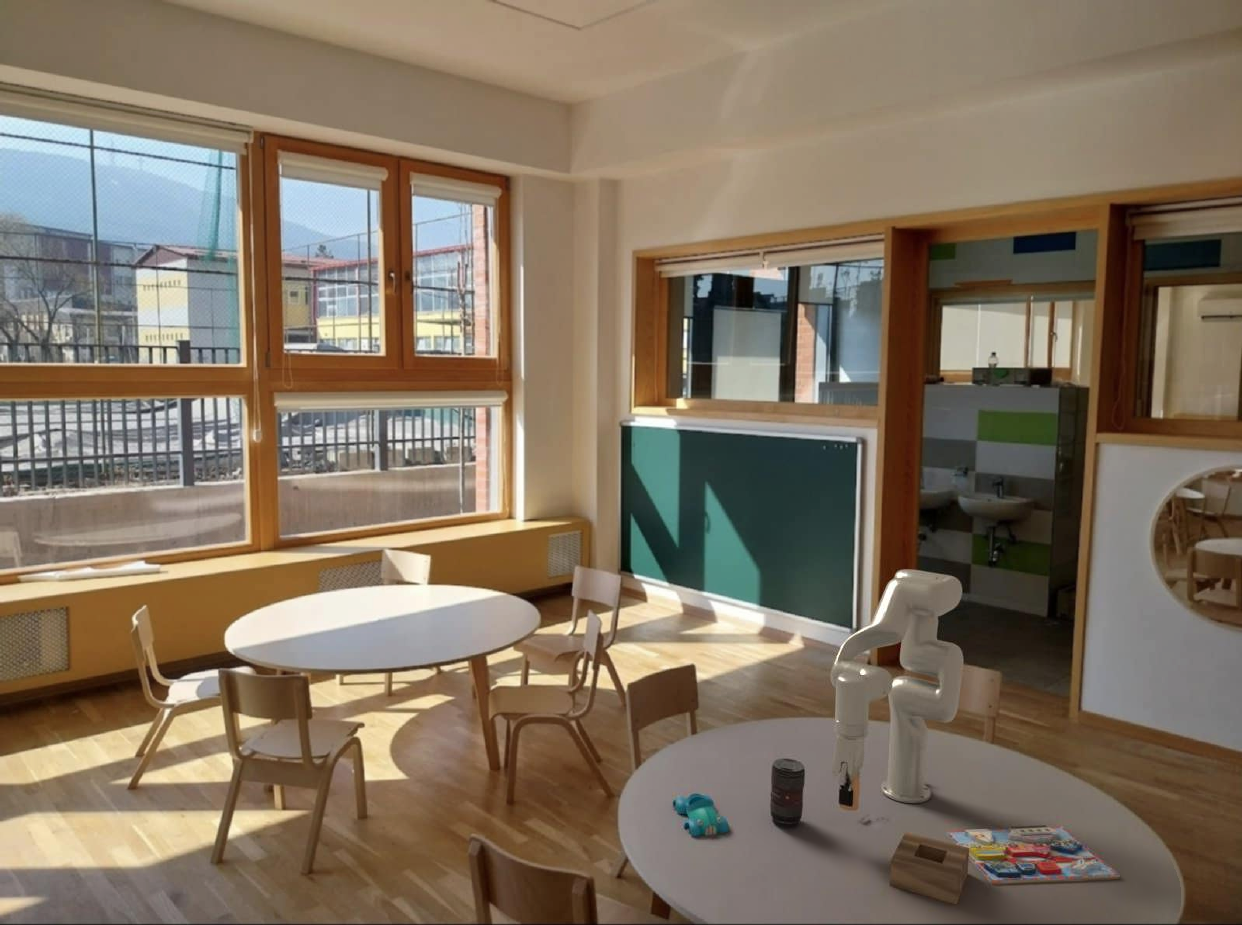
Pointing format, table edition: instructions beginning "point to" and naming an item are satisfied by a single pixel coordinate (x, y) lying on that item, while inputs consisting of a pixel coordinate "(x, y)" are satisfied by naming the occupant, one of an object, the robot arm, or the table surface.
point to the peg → (855, 794)
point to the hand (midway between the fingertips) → (848, 799)
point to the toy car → (700, 815)
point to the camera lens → (787, 792)
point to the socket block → (929, 867)
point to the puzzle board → (1031, 855)
